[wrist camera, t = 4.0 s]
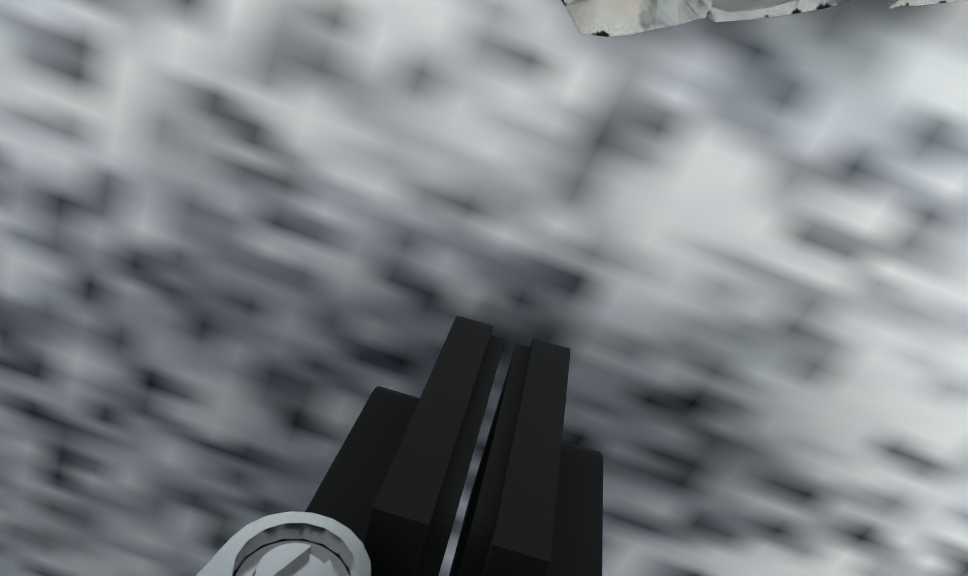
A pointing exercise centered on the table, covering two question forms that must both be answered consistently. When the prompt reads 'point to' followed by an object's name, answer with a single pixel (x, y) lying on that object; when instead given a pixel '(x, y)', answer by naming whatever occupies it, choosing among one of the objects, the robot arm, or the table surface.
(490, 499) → the robot arm
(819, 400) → the table surface
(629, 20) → the egg carton
